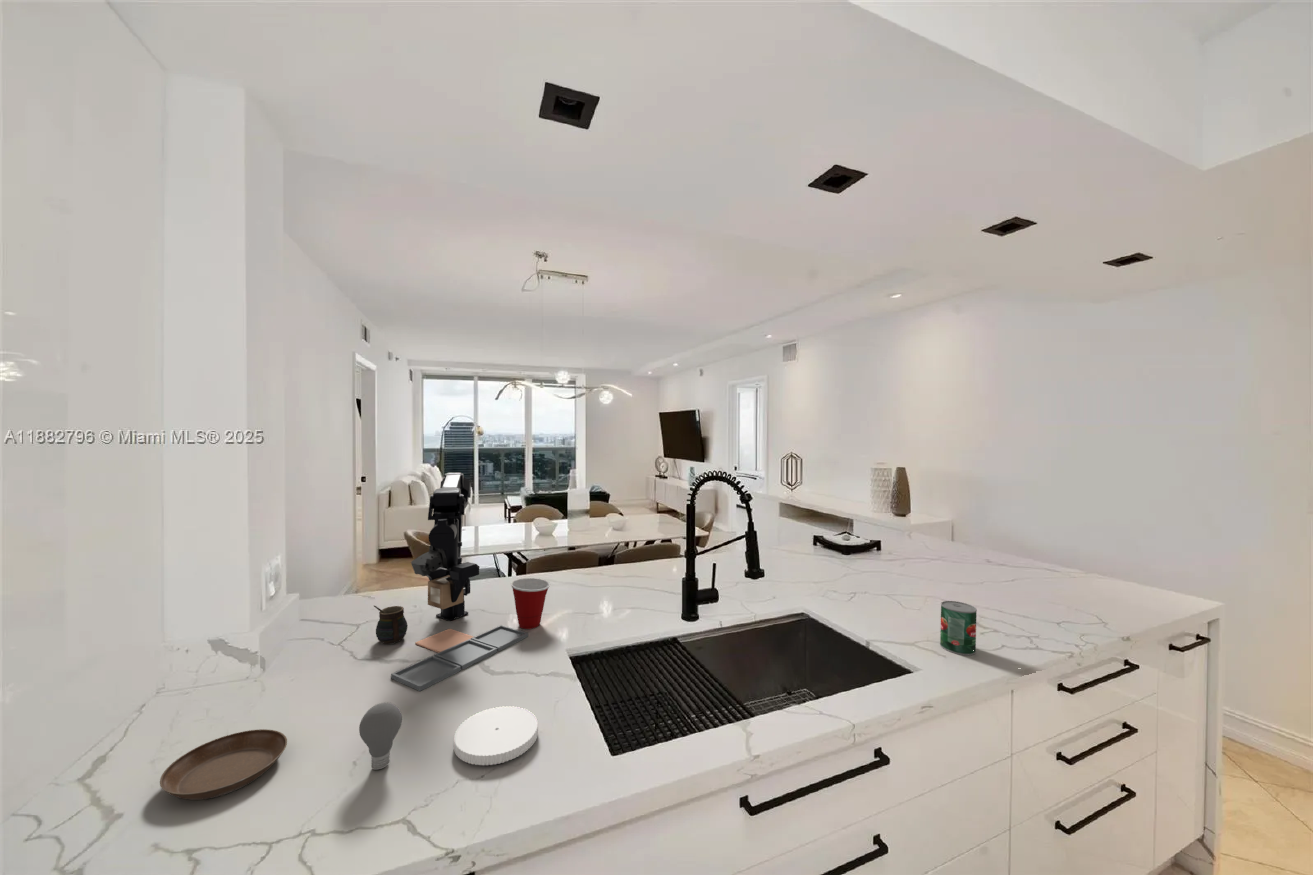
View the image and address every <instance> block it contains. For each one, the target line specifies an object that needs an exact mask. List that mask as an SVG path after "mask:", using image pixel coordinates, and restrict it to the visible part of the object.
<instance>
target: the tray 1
mask: <svg viewBox="0 0 1313 875" xmlns="http://www.w3.org/2000/svg"><path fill="white" fill-rule="evenodd" d="M460 671H462V669H461V666H458V665H456V664H453V663H451V662H448V661H445V660H443V659H440V658H438V657H435V656H434V655H431V656H428V657H425V658H424V659H422V660H419V661H417V662H414V663H412V664H410V665H408V666H406V667H403V668H401V669H399V670H397V671H394V672H392V673H391V674H390V679H392V680H393V681H396V682H398V683H400V684H403V685H405V686H406V687H409V688H411V689H414V690H417V691H418V692H421V691H423V690H425V689H427V688H429V687H430V686H433V685H435V684H438V683H439V682H441V681H443V680H445V679H447V678H449V677H451V676H453V675H455V674H457V673H459V672H460Z"/></svg>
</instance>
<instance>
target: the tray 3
mask: <svg viewBox="0 0 1313 875" xmlns="http://www.w3.org/2000/svg"><path fill="white" fill-rule="evenodd" d="M528 637H529V632H525V631H523V630H520V629H516V628H513V627H509V626H506V625H503V624H500V625H497V626H495V627H492V628H491V629H489V630H486V631H484V632H482V633H479V634H478V635H476V636H473V638H471V640H474V641H477V642H480V643H483V644H486V645H488V646H491V647H494V648H497V652H500V651H502V650H504V649H506V648H509V647H511V646H512V645H514V644H517V643H519V642H520V641H522V640H525V639H526V638H528Z"/></svg>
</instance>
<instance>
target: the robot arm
mask: <svg viewBox="0 0 1313 875" xmlns="http://www.w3.org/2000/svg"><path fill="white" fill-rule="evenodd" d="M471 496H472V485H471V481H470V480H469V479H467V478H466V477H465V475H464V473H462V472H447V473H444V477H443V479H442V480H441V481H440V487H439V488H436V489H434V491H433V493H432V494H430V496H429V506H428V513H427V521H434V525H433V527H432V528H431V529H430V531H429V534H428V536H427V537H428V541H429V542H428V543H429V544H430V545H429V547H428V548H429V549H428V551H427V552H425V553H423V554H421V555H419V556H417V557H416V558H414V559H413V560H411V562H410V563H411V567H412V569H413V573H414V574H415V575H420V576H422V577H427V578H428V581H431V580H434V579H437V578H441V577H444V576H448V575H449V576H451V577H448V578H445V579H446V580H447V581H448V582H449V583H450V590H451V601H452V602H456V601H457V599H458V597H459V595H460V593H461V591H462V589H463V587H464V590H463V602H462V603H459V604H457V605H454V606H451V607H448V608H446V609H440V613H436V614H435V617H436V618H440V619H443V620H446V621H448V622H449V621H453V620H456V619H459V618H461V617H464V616H468V614H469V611H467V610H466V609H465V604H466V603H465V597H466V596H468V595H469V594H471V578H473V577H474V578H475V576H479V575H480V566H479V565H478V563H474V562H469V561H466V562H463V563H462V561H463V557H462V556H461V554H462V546H463V542H462V533H463V532H462V531H463V516H465V512H466V510H465V509H466V507H467V506H468V505H469V498H472V497H471Z"/></svg>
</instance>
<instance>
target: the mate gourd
mask: <svg viewBox="0 0 1313 875" xmlns="http://www.w3.org/2000/svg"><path fill="white" fill-rule="evenodd" d="M373 607H374V608H375V609H377V610H378V612H379V613H378V614H379V615H378V617H379V619H378V622H377V623H376V626H375V627H376V628H375V635H376V638H377V640H378V641H379V642H380V643H382V644H384V645H390V644H397V643H398V642H400V641H402V640H403V638H404V637H405V636H406V635H407V631H408V621H407V619H406V618H405V615H404V613H405V609H404V606H401V605H400V606H399V605H393V606H391V605H390V606H388V607H385V608H382V609H381V608H380V607H379V606H377V605H373Z"/></svg>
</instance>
